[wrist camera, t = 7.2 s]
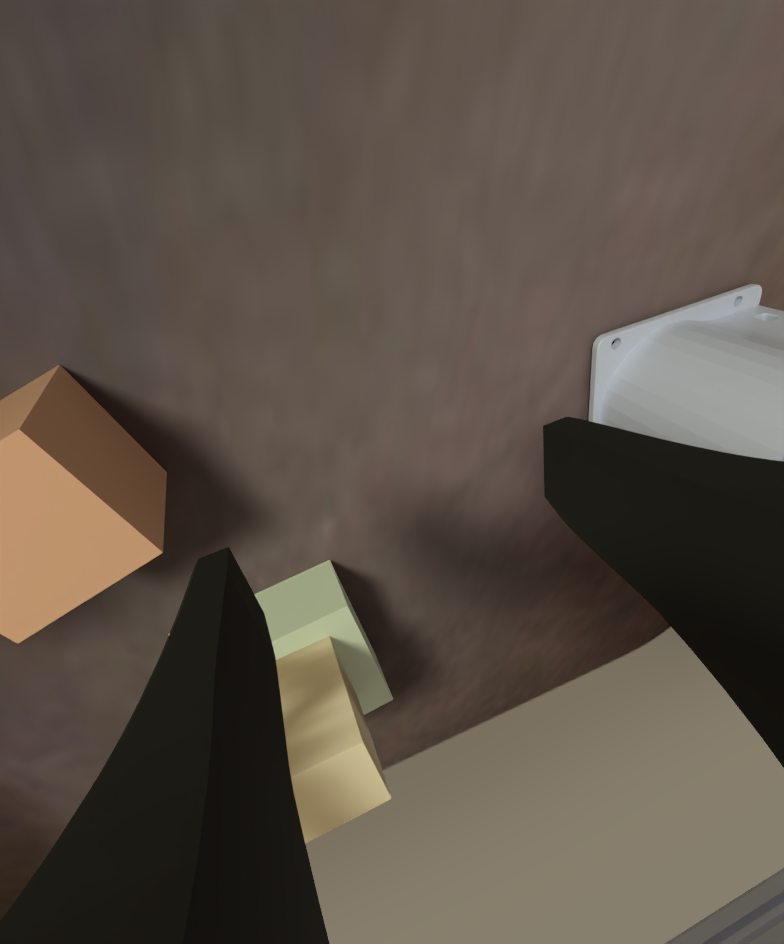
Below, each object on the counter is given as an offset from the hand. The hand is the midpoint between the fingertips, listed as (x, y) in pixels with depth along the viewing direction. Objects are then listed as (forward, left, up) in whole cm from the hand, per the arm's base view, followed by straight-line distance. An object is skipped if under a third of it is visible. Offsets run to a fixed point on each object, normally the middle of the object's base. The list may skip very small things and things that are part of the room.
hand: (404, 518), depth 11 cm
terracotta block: (+9, 0, -10) cm, 14 cm away
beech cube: (+5, +13, -7) cm, 16 cm away
